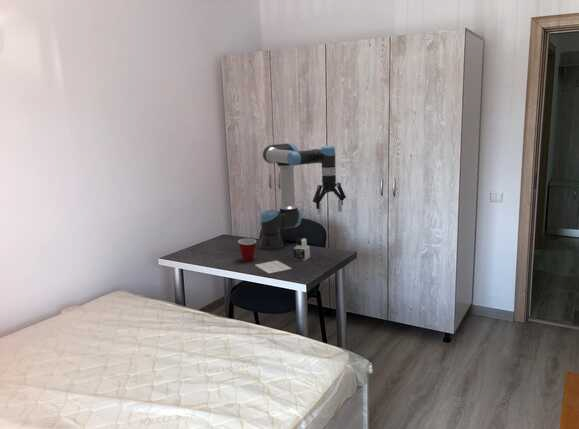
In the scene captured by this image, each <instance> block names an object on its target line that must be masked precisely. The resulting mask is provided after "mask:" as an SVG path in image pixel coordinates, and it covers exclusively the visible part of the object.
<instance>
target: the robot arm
mask: <svg viewBox="0 0 579 429" xmlns="http://www.w3.org/2000/svg"><path fill="white" fill-rule="evenodd" d="M262 158H263V160H264V161H265V162H266V163H267V164H277V167H278V168H279V172H280V174H279V176H280V191H281V192H280V194H281V195H280V196H281V197H280V198H281V205H280V207H279V209H269V210H265V211H263V212H262V213H261V214H260V229H261V238H260V242H259V248H260V250H263V251H265V250H266V251H272V250H273V251H274V250H279V249H282V248H283V247H284V242H283V239H282V237H281V233H280V232H281V230H285V229H286V230H287V229H293V228H296V227H299V226H300V225H301V222H302V218H303V214H302V212H301V210H300V208H299V207H298V206H297V204H296V196H295V195H296V194H295V192H296V191H295V173H294V172H295V171H294V168H295V166H301V165H312V164H321V175H322V176H321V182H322V184H317V187H316V188H317V189H316V191H315V194H314V196H313V199H312V202H313V203H315V207H316V208H315V209H316V210H317V211H316V212H317V215H319V216H322V202H321V201H322V200H323V198H324V197H325V195H326V194H327V193H331V192H333V193H334V195H335V196H336V197H337V198H338V199H337V212H340V213H342V212H343V205H344V203H343V202H344V200H345V199H346V198H347V197H346V194H345V192H344V189H343V188H342V183H341V182H338V181H337V175H336V173H337V172H336V147H335V146H334V145H330V146H329V145H327V146H322V147H321V148H320V149H319V148H314V149H308V150H307V149H306V150H299V149H298V147H297V145H295V143H280V144H279V143H277V144H270V145H268V146H266V147H265V148H264V150H263V151H262ZM336 188H337V189H336Z"/></svg>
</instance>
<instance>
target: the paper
mask: <svg viewBox="0 0 579 429" xmlns="http://www.w3.org/2000/svg"><path fill="white" fill-rule="evenodd" d="M254 266H255V267H256V268H258V269H260V270H262V271H263V272H265V273H266V274H274V273H279V272H283V271H287V270H288V271H289V270H292V267H290V266H288V265H286V264H285V263H282V262H281V261H279V260H277V259H275V260H272V261H267V262H262V263H257V264H254Z"/></svg>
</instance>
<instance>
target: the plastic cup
mask: <svg viewBox="0 0 579 429" xmlns="http://www.w3.org/2000/svg"><path fill="white" fill-rule="evenodd" d="M237 243H238V245H239V248H240V253H241V257H242V260H243V262H246V263H247V262H248V263H250V262H253V261H254V256H255V248H256V243H257V240H256V239H254V238H242V239H241V238H240V239H238V240H237Z"/></svg>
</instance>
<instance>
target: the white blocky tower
mask: <svg viewBox="0 0 579 429" xmlns="http://www.w3.org/2000/svg"><path fill="white" fill-rule="evenodd" d="M307 243H308V241H307V238H305V237H298V238H296V239H295V244H296V246H295V247H293V260H296V261H303V262H305V261H307V260H308V259H310V258H311V249H310V248H311V246H310V245H308V244H307Z"/></svg>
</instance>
